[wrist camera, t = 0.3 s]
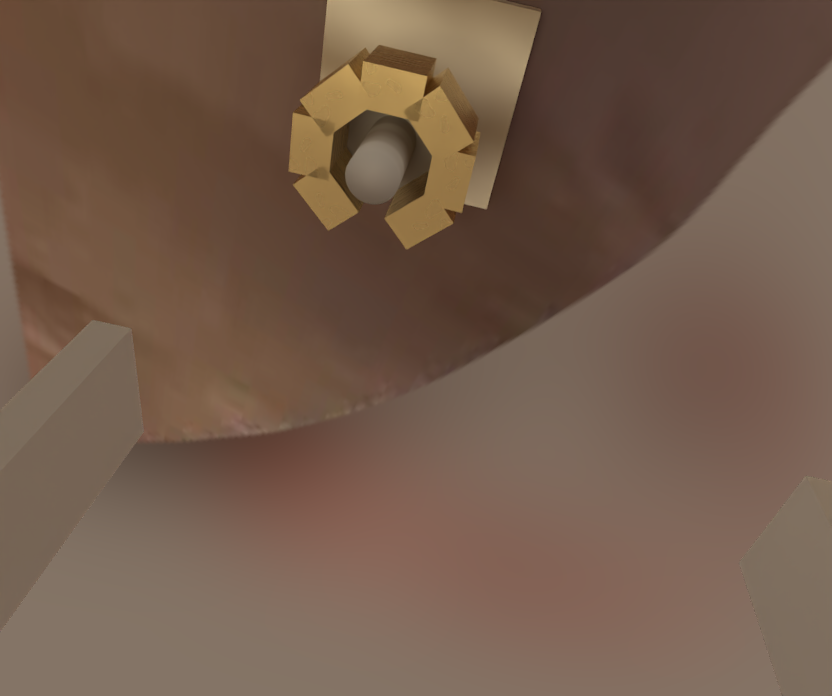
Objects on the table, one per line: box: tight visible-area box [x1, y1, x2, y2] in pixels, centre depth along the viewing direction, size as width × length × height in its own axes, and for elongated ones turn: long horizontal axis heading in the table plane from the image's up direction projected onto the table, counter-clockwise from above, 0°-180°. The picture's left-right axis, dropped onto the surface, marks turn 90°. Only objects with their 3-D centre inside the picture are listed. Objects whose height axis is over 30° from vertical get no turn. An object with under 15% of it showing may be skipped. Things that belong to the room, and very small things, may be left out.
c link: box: [289, 45, 481, 249], centre depth 25 cm, size 7×7×3 cm
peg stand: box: [320, 0, 541, 209], centre depth 28 cm, size 10×10×12 cm
